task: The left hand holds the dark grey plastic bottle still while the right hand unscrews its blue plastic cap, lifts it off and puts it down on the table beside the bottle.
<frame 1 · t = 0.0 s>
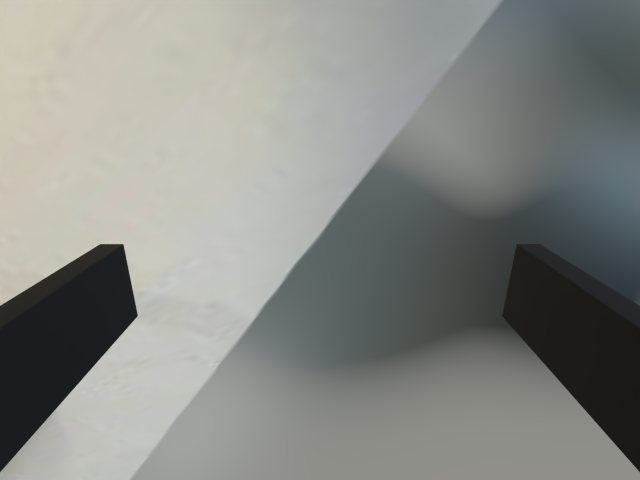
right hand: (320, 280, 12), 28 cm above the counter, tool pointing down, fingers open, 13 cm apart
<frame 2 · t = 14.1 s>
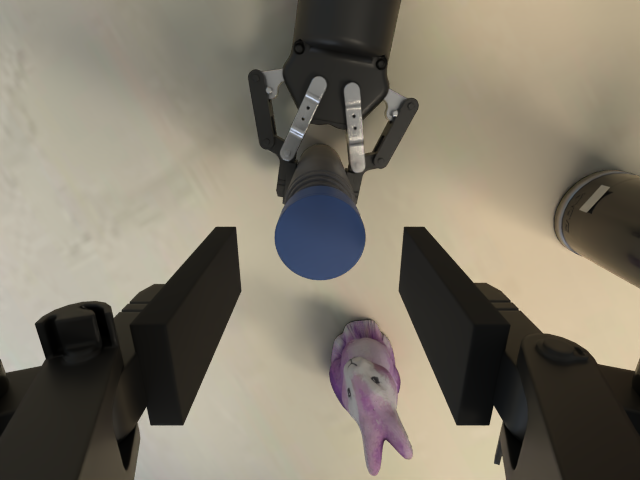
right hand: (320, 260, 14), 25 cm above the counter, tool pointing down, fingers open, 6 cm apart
left hand: (314, 205, 32), fingers closed on bottle, 4 cm apart
figurine: (358, 349, 45), on the counter
cap: (320, 237, 16), point 22 cm above the counter, screwed on, not yet turned
bottle: (320, 165, 37), on the counter, touching left hand
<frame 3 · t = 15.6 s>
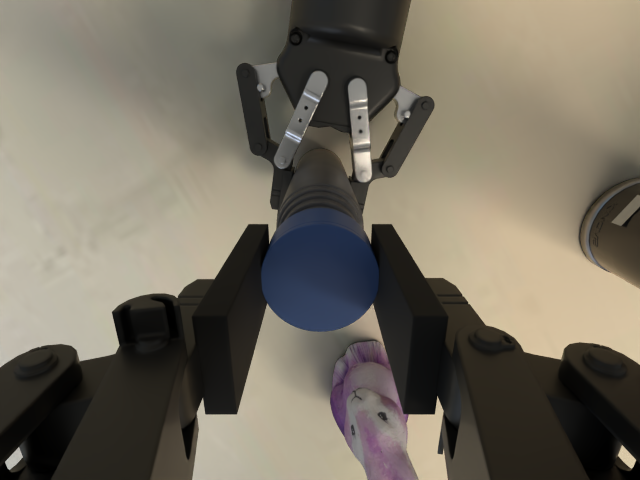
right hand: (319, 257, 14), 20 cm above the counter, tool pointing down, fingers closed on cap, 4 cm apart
left hand: (313, 219, 28), fingers closed on bottle, 4 cm apart
figurine: (362, 372, 41), on the counter
cap: (320, 277, 12), point 22 cm above the counter, screwed on, not yet turned, touching right hand
bottle: (320, 172, 33), on the counter, touching left hand
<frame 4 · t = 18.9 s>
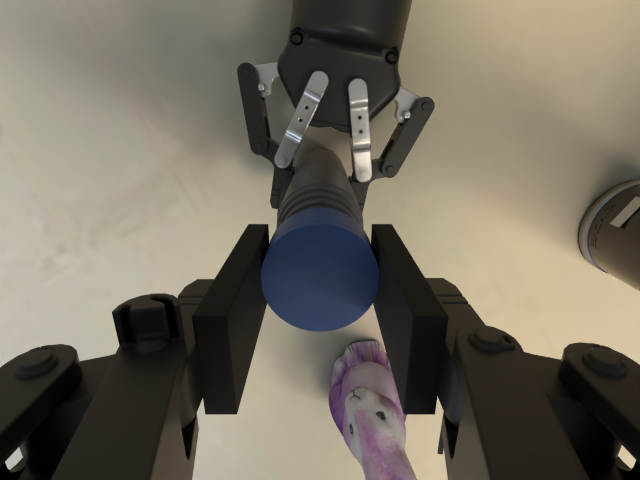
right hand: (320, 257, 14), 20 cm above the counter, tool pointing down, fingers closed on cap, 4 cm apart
left hand: (313, 218, 28), fingers closed on bottle, 4 cm apart
figurine: (361, 372, 41), on the counter
cap: (320, 277, 12), point 22 cm above the counter, turned 109° so far, risen 0.1 cm, still on its thread, touching right hand
bottle: (320, 172, 33), on the counter, touching left hand
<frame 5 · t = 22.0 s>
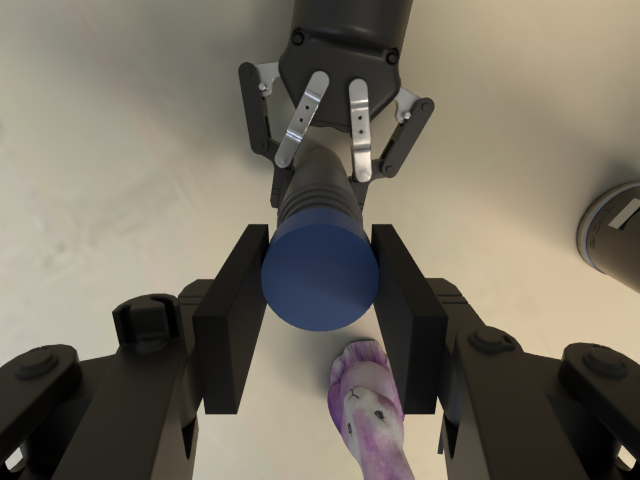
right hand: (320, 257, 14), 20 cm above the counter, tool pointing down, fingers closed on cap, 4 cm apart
left hand: (313, 218, 28), fingers closed on bottle, 4 cm apart
figurine: (359, 371, 41), on the counter
cap: (320, 277, 12), point 22 cm above the counter, turned 219° so far, risen 0.2 cm, still on its thread, touching right hand
bottle: (320, 172, 33), on the counter, touching left hand
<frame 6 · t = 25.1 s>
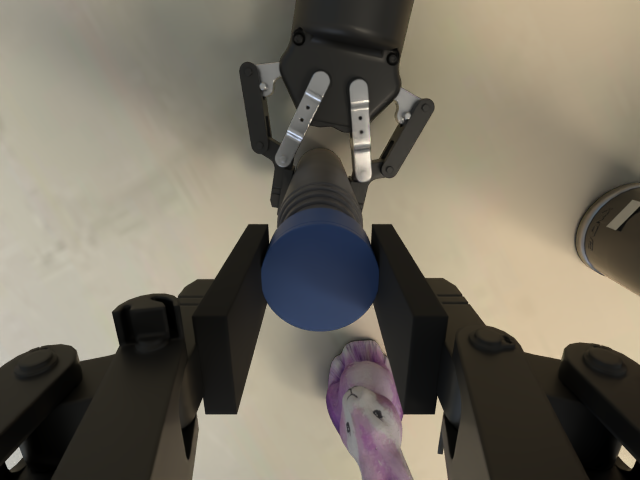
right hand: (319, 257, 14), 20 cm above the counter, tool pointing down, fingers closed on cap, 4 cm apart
left hand: (313, 218, 29), fingers closed on bottle, 4 cm apart
figurine: (358, 371, 41), on the counter
cap: (320, 277, 12), point 22 cm above the counter, turned 328° so far, risen 0.3 cm, still on its thread, touching right hand
bottle: (320, 171, 33), on the counter, touching left hand
when the right hand's fingers open (1 cm above the counter, at t = 35.4 s): cap drops 1 cm, point 2 cm above the counter.
when the left hand's fingers open (6 cm above the counter, at t = 36.6 s): bottle stays where it is, on the counter.
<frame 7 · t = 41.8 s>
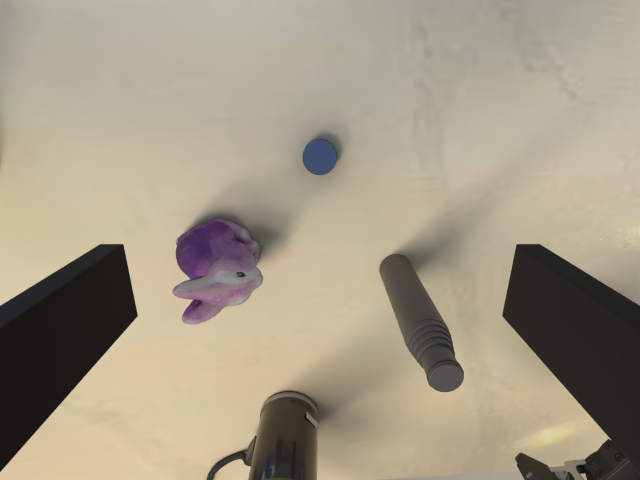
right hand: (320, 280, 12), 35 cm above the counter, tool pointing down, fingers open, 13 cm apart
figurine: (228, 244, 49), on the counter
cap: (319, 157, 43), point 2 cm above the counter, off its thread
bottle: (394, 268, 50), on the counter
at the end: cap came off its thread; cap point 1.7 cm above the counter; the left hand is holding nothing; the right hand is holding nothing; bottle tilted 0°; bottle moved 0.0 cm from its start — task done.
